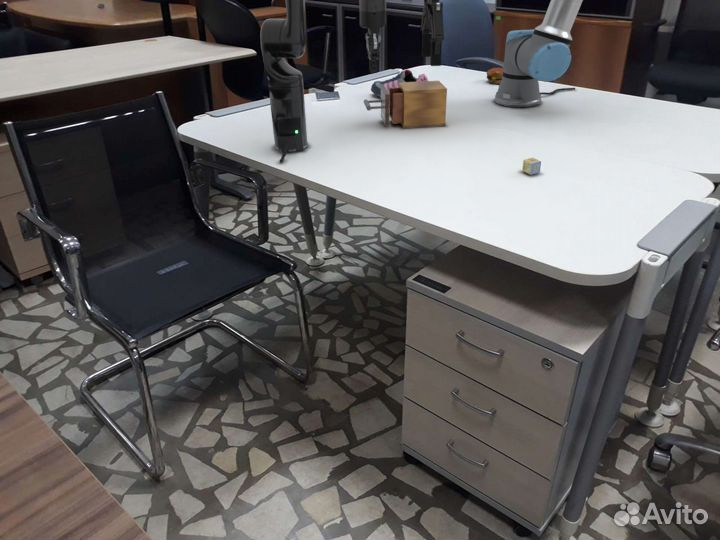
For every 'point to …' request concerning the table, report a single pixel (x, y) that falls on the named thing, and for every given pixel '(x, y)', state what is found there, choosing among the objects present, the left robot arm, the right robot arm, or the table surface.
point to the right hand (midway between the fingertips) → (430, 61)
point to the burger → (495, 75)
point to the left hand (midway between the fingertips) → (373, 72)
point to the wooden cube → (424, 104)
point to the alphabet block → (531, 166)
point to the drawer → (389, 105)
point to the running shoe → (396, 81)
